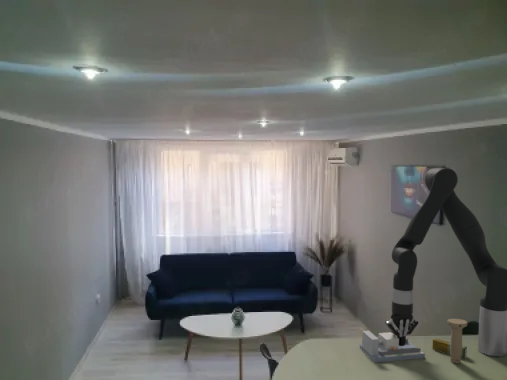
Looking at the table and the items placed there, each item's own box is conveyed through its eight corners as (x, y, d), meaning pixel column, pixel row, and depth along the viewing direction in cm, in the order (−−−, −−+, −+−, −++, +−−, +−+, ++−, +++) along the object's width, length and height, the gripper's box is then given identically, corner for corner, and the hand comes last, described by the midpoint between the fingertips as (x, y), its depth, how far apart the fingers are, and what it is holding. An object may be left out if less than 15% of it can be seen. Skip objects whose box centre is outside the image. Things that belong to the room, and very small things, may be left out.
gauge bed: (407, 344, 172) (407, 325, 172) (424, 357, 161) (425, 337, 160) (359, 347, 168) (360, 328, 168) (374, 362, 157) (374, 341, 156)
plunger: (390, 345, 167) (390, 332, 167) (401, 354, 159) (402, 341, 159) (370, 346, 166) (371, 333, 165) (381, 356, 158) (381, 342, 157)
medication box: (467, 357, 162) (467, 346, 162) (464, 359, 160) (465, 348, 160) (434, 347, 170) (434, 337, 170) (431, 349, 168) (432, 339, 168)
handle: (467, 365, 155) (469, 323, 154) (449, 365, 155) (451, 323, 154) (461, 358, 160) (463, 318, 159) (443, 358, 160) (445, 318, 159)
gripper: (413, 296, 169) (411, 339, 170) (381, 298, 166) (380, 342, 167) (424, 302, 161) (422, 348, 163) (391, 304, 159) (389, 351, 160)
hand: (400, 345), depth 165 cm, fingers closed
